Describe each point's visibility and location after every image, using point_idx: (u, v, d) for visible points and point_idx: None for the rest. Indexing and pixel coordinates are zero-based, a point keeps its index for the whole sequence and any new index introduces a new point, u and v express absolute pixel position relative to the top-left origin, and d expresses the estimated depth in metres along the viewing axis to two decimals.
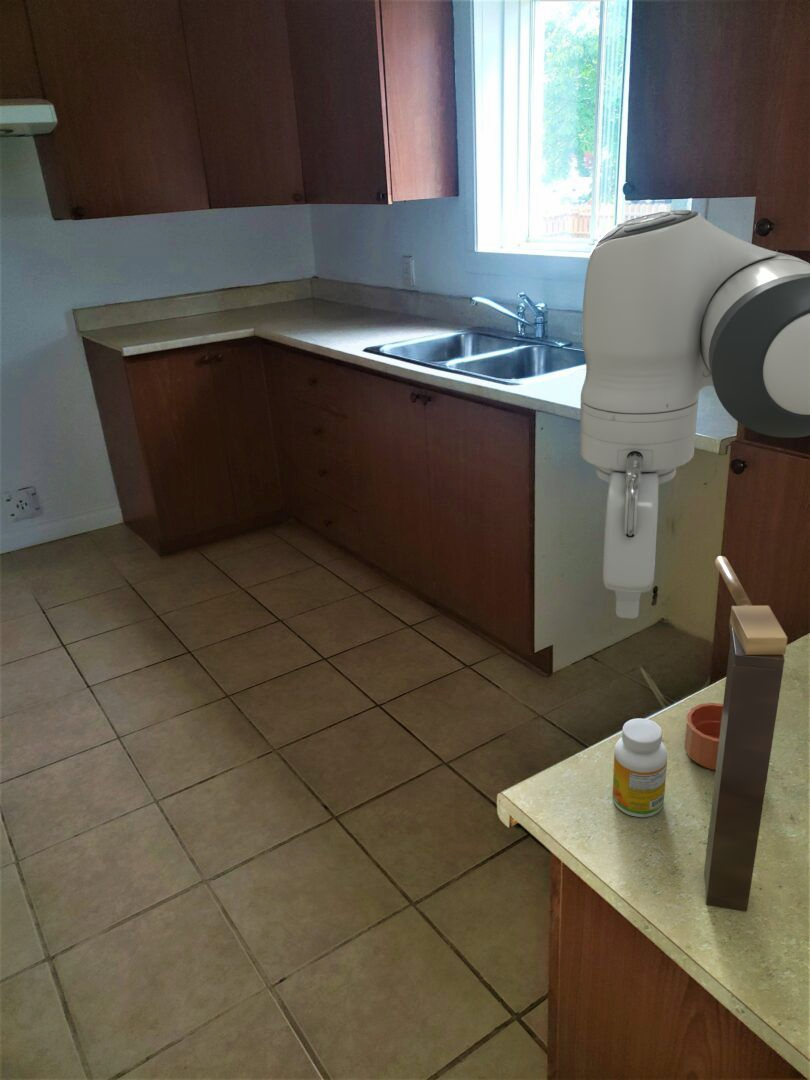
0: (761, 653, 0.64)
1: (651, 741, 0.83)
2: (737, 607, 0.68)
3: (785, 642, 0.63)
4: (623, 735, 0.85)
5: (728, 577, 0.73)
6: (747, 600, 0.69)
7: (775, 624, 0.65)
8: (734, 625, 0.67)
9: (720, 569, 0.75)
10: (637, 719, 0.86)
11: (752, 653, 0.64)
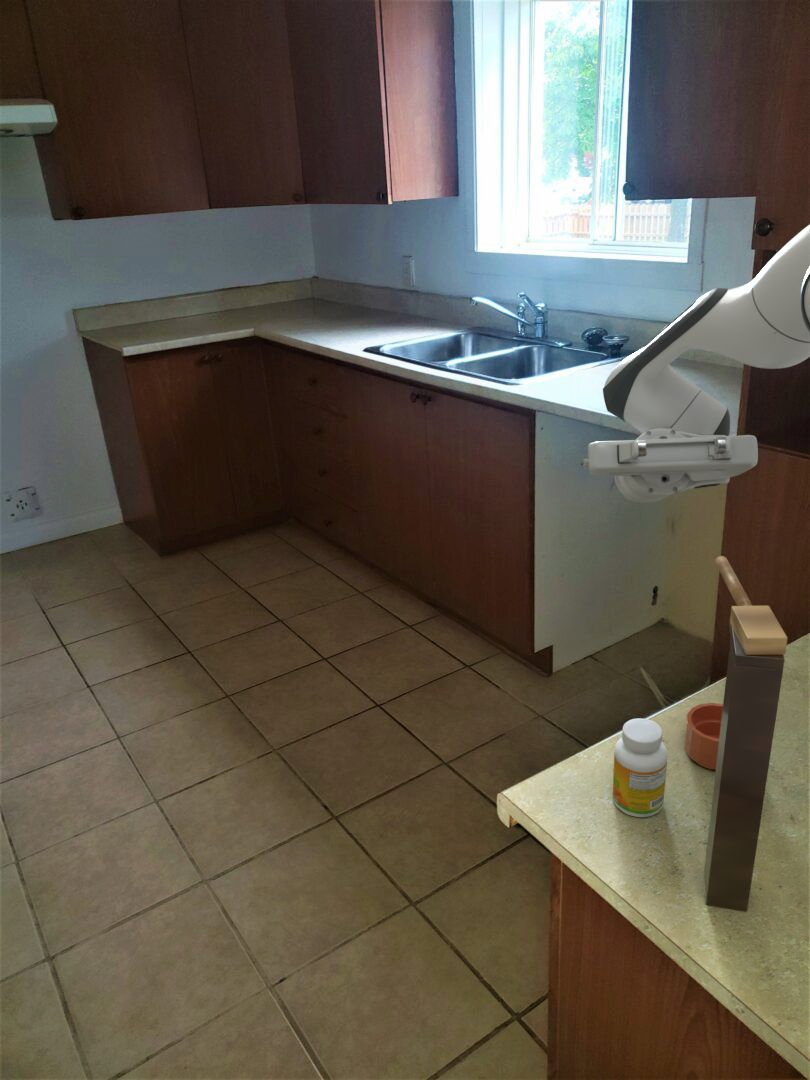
0: (761, 653, 0.64)
1: (651, 741, 0.83)
2: (737, 607, 0.68)
3: (785, 642, 0.63)
4: (623, 735, 0.85)
5: (728, 577, 0.73)
6: (747, 600, 0.69)
7: (775, 624, 0.65)
8: (734, 625, 0.67)
9: (720, 569, 0.75)
10: (637, 719, 0.86)
11: (752, 653, 0.64)
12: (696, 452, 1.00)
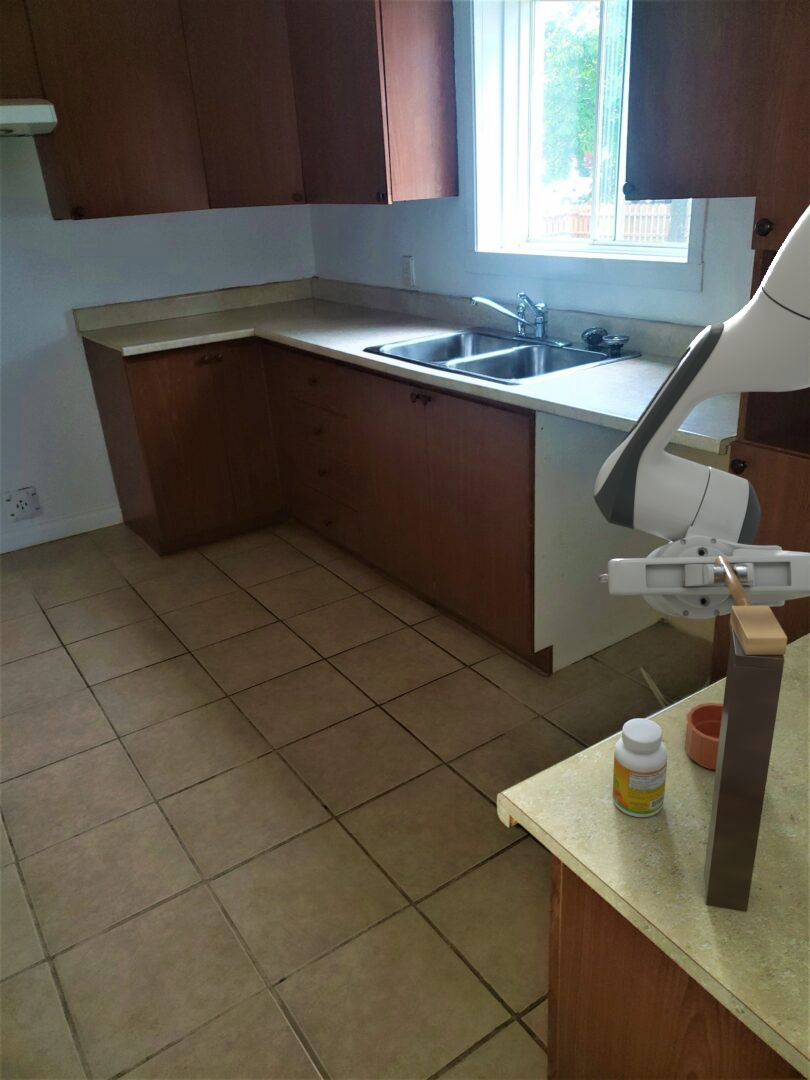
0: (761, 653, 0.64)
1: (651, 741, 0.83)
2: (737, 607, 0.68)
3: (785, 642, 0.63)
4: (623, 735, 0.85)
5: (728, 577, 0.73)
6: (747, 600, 0.69)
7: (775, 624, 0.65)
8: (734, 625, 0.67)
9: None
10: (637, 719, 0.86)
11: (752, 653, 0.64)
12: None
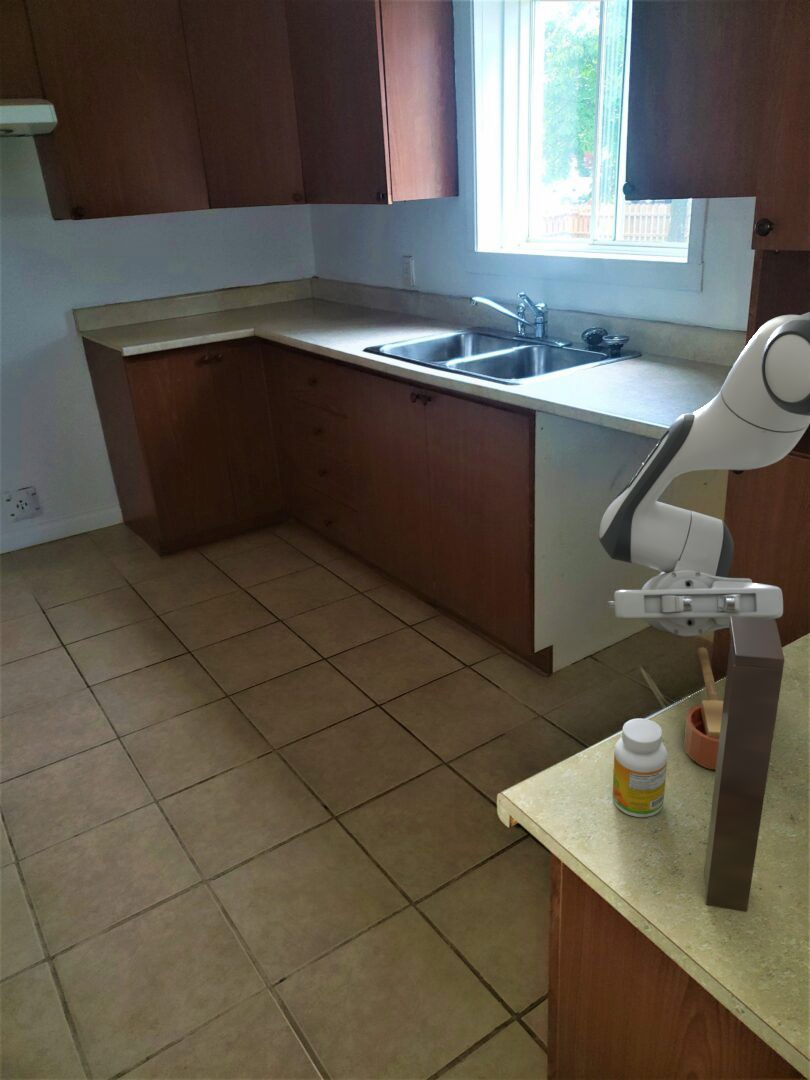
0: None
1: (651, 741, 0.83)
2: (706, 701, 0.94)
3: None
4: (623, 735, 0.85)
5: (704, 669, 0.99)
6: (714, 694, 0.96)
7: None
8: (703, 715, 0.94)
9: (700, 660, 1.01)
10: (637, 719, 0.86)
11: None
12: (722, 603, 1.01)
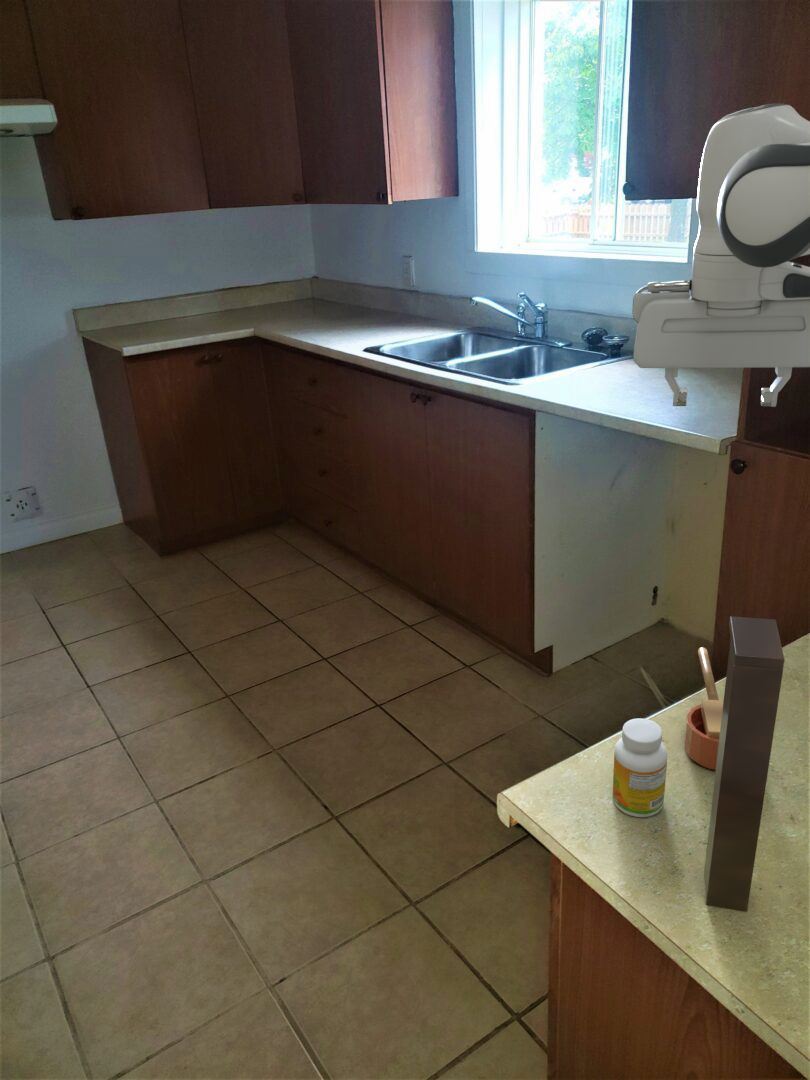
0: None
1: (651, 741, 0.83)
2: (706, 701, 0.94)
3: None
4: (623, 735, 0.85)
5: (704, 669, 0.99)
6: (714, 694, 0.96)
7: None
8: (703, 715, 0.94)
9: (700, 660, 1.01)
10: (637, 719, 0.86)
11: None
12: None
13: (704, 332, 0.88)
